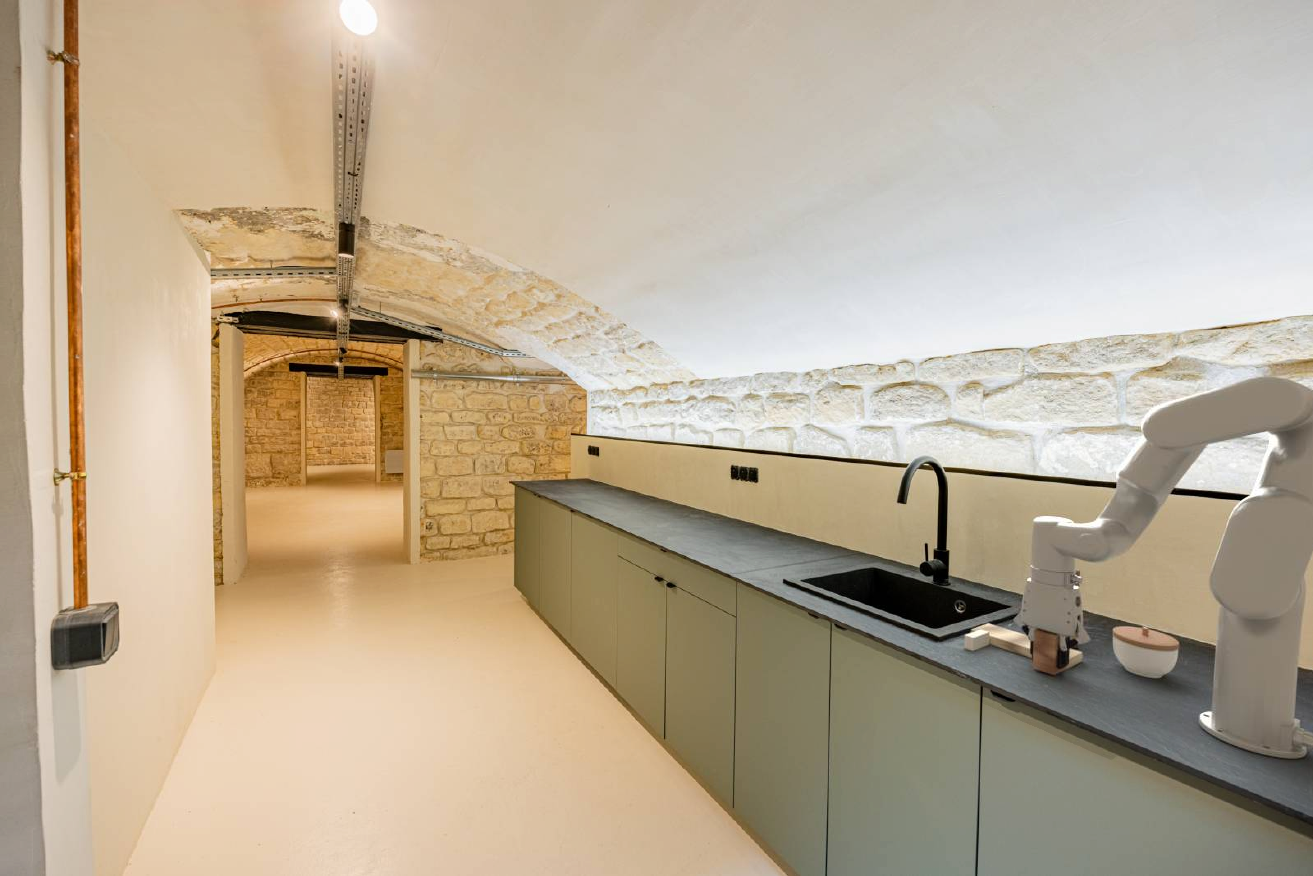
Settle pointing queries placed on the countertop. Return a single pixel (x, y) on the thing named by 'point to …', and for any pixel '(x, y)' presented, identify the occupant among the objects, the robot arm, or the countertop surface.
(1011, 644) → the oak board
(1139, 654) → the lidded jar
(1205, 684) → the countertop surface
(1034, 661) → the upright brown wood block
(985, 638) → the end stop
